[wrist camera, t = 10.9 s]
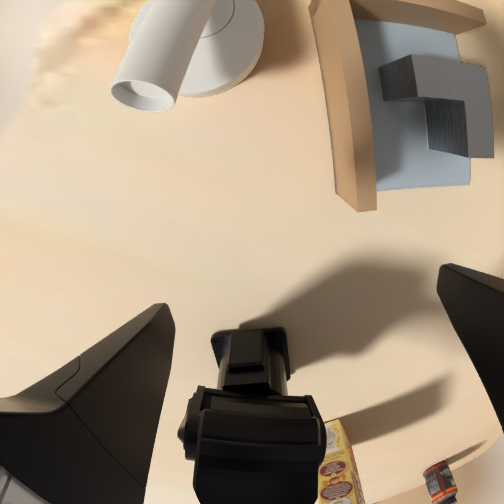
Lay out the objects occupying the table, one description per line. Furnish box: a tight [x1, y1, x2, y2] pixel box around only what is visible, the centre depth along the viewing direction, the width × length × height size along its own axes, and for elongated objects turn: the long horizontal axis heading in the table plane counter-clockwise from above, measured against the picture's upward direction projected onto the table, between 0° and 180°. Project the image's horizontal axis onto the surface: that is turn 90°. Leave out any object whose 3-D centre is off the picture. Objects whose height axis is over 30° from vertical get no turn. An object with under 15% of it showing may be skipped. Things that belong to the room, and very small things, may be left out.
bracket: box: [378, 54, 494, 158], centre depth 15 cm, size 6×6×5 cm
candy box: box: [318, 419, 365, 504], centre depth 26 cm, size 9×4×15 cm, turn 25°
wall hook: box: [109, 0, 264, 112], centre depth 12 cm, size 9×10×10 cm
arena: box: [308, 0, 487, 212], centre depth 15 cm, size 14×12×5 cm
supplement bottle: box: [423, 462, 457, 504], centre depth 37 cm, size 6×6×11 cm
